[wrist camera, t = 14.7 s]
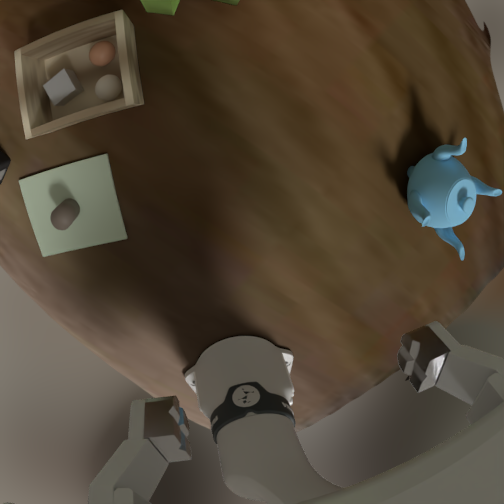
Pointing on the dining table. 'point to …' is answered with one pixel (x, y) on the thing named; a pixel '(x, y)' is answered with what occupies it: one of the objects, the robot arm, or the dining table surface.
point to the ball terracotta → (102, 53)
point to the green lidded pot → (171, 5)
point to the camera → (3, 165)
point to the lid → (74, 206)
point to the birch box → (77, 73)
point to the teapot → (444, 192)
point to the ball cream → (108, 87)
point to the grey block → (63, 87)
